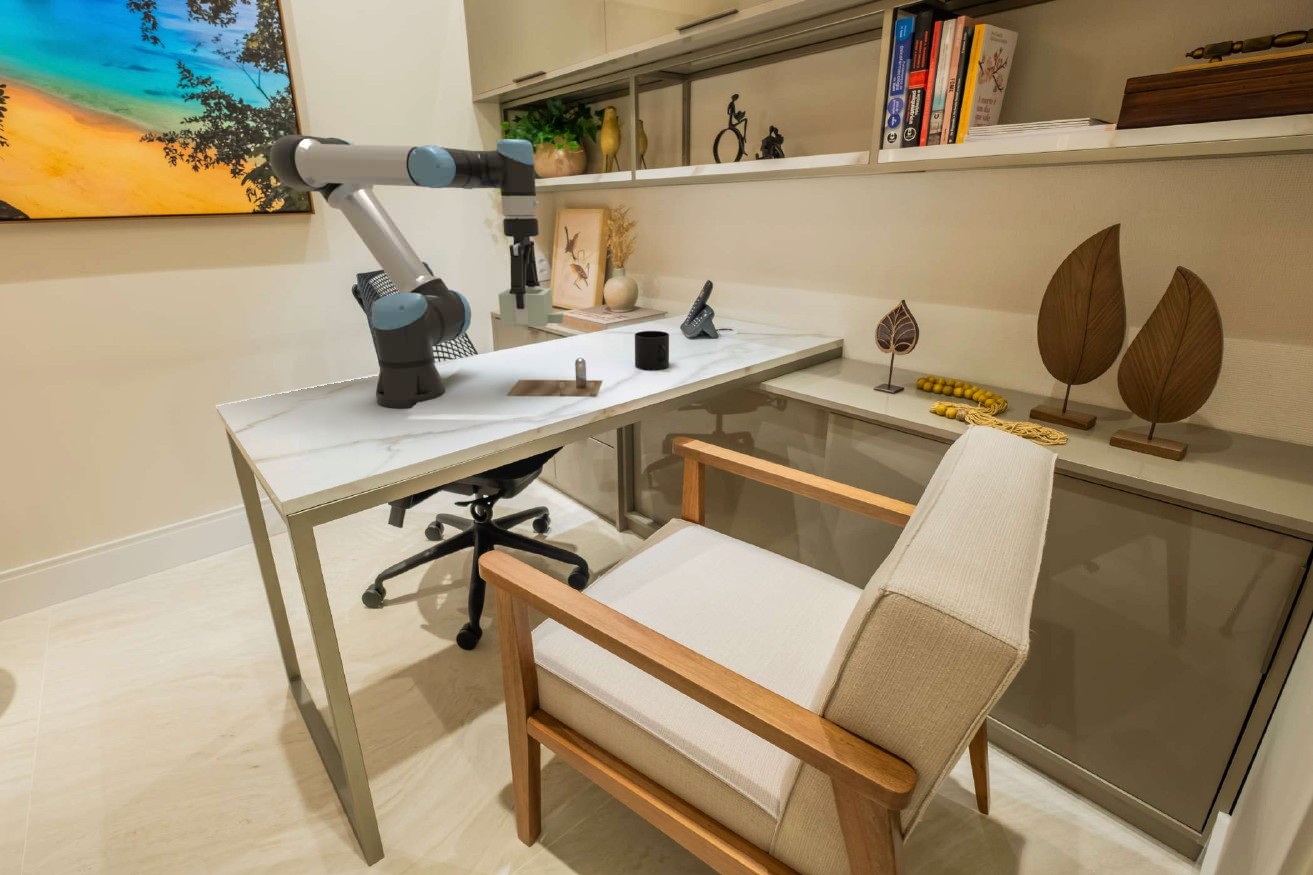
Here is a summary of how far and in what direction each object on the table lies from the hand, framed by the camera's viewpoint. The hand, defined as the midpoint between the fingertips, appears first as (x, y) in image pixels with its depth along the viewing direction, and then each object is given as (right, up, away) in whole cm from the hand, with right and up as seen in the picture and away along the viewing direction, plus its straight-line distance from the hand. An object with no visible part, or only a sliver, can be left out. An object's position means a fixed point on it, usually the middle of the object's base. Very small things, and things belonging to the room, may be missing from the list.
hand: (527, 318), depth 146 cm
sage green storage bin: (+2, -1, 0) cm, 2 cm away
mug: (+29, -8, +28) cm, 42 cm away
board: (+6, -17, +6) cm, 19 cm away
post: (+12, -15, +6) cm, 20 cm away
